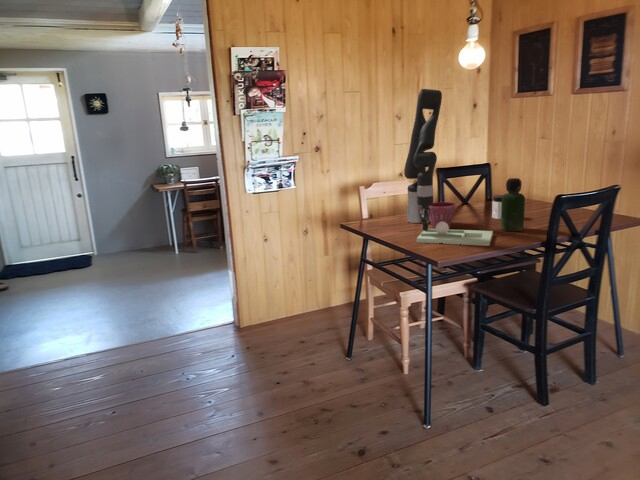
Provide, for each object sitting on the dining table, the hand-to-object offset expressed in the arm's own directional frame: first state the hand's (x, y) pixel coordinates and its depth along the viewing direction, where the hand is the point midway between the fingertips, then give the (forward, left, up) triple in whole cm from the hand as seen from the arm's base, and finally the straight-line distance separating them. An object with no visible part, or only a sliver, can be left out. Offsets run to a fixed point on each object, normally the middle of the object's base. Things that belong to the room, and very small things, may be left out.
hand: (425, 230), depth 227 cm
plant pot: (+4, +20, -4) cm, 21 cm away
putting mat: (+14, 0, -4) cm, 14 cm away
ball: (+8, 0, +1) cm, 8 cm away
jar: (+31, +51, -4) cm, 60 cm away
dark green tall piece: (+38, +23, -4) cm, 45 cm away
